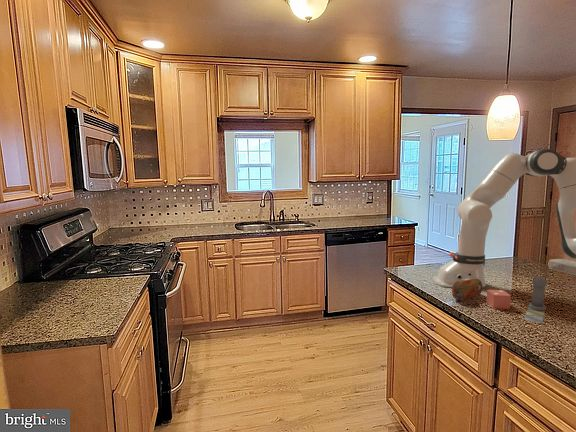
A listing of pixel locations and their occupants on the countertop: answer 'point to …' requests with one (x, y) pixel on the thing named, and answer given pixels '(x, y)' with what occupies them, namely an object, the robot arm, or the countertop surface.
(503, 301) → the die
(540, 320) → the board
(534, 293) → the pawn
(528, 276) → the countertop surface
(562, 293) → the countertop surface
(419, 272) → the countertop surface
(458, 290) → the tin
